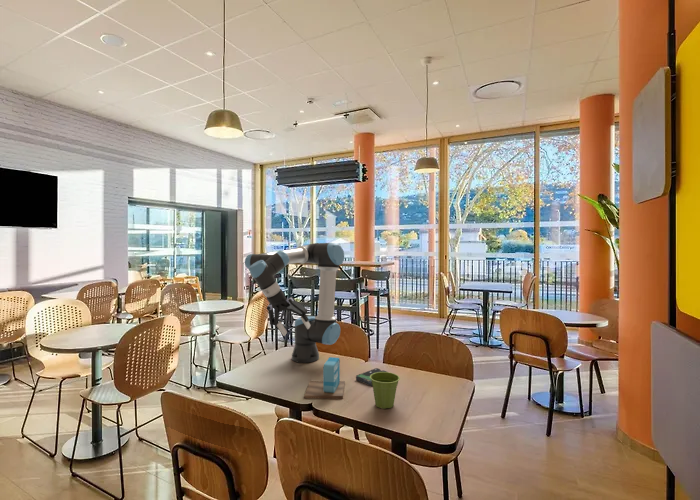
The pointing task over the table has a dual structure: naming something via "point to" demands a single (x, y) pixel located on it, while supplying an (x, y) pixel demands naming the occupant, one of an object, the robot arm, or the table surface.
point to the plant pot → (384, 388)
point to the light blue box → (331, 375)
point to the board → (317, 391)
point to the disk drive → (367, 376)
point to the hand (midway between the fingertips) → (297, 330)
